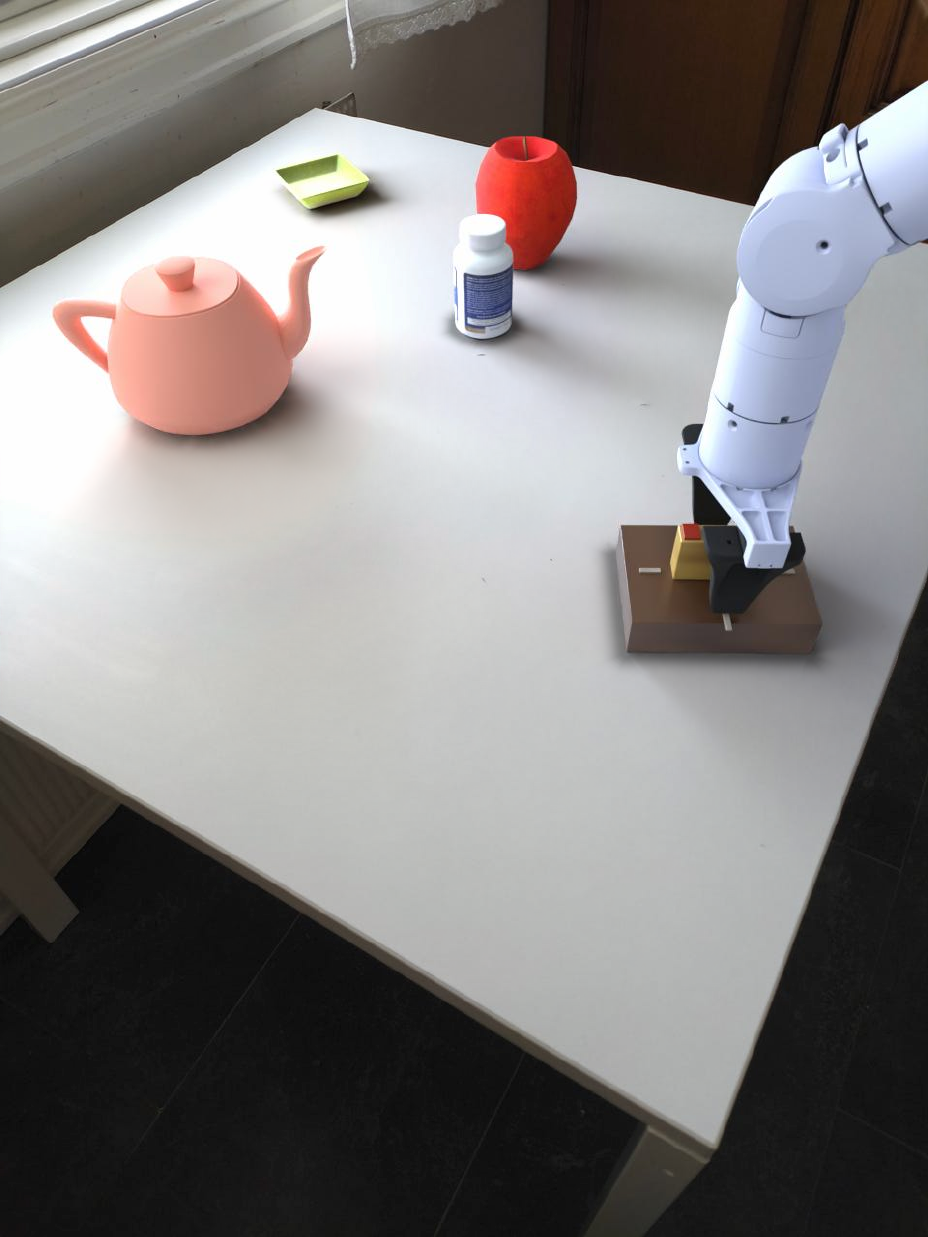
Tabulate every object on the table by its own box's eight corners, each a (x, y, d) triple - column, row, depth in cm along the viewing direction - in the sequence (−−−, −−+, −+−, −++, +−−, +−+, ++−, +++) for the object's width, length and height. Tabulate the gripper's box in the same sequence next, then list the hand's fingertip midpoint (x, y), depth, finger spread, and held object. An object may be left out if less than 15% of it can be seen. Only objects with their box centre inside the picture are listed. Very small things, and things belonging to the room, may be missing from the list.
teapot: (335, 331, 85) (316, 201, 76) (355, 428, 76) (336, 292, 66) (96, 362, 83) (46, 231, 73) (85, 466, 73) (26, 331, 64)
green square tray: (302, 217, 100) (299, 198, 99) (274, 187, 106) (271, 168, 104) (373, 198, 103) (371, 179, 102) (342, 170, 108) (340, 152, 107)
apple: (573, 239, 96) (582, 116, 87) (571, 287, 90) (580, 160, 80) (480, 236, 97) (479, 114, 87) (471, 283, 90) (469, 157, 81)
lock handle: (759, 563, 60) (773, 522, 57) (764, 580, 59) (778, 539, 56) (669, 562, 60) (678, 521, 58) (672, 579, 59) (681, 539, 57)
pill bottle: (523, 325, 85) (527, 224, 78) (481, 347, 83) (480, 245, 76) (485, 303, 88) (485, 203, 81) (443, 323, 86) (439, 223, 78)
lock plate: (781, 550, 65) (792, 517, 63) (812, 661, 59) (826, 630, 56) (614, 548, 66) (619, 517, 63) (627, 659, 59) (633, 628, 57)
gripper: (675, 319, 54) (645, 491, 64) (712, 479, 45) (669, 650, 55) (795, 319, 54) (745, 492, 64) (857, 480, 44) (787, 652, 55)
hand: (717, 565), depth 59 cm, fingers open, 7 cm apart
